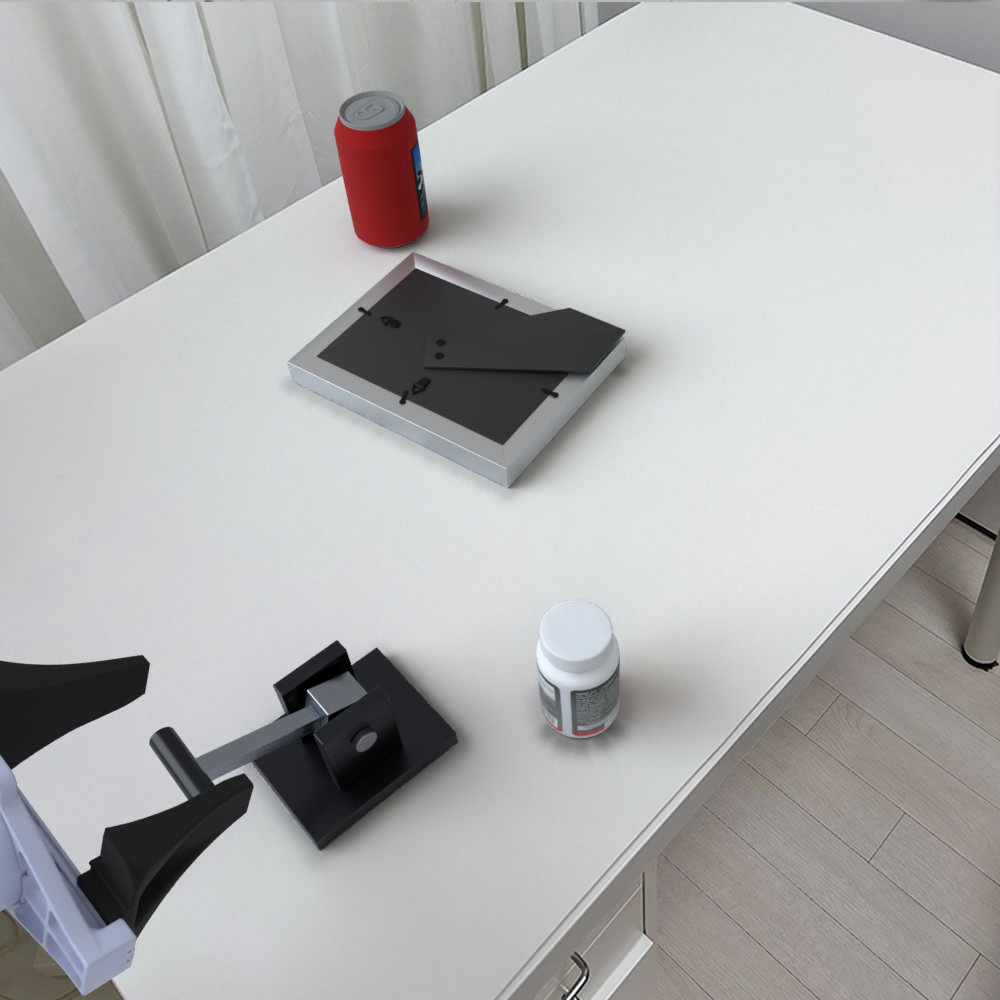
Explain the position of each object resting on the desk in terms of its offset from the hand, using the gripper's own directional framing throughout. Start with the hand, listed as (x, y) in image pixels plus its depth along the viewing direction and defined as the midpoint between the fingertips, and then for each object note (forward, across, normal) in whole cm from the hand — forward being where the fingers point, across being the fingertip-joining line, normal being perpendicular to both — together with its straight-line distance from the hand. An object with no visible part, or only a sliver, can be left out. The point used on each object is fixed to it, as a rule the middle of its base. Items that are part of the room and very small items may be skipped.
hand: (192, 731), depth 48 cm
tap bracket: (+14, +2, +13) cm, 19 cm away
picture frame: (+39, +21, +4) cm, 44 cm away
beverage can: (+47, +39, +2) cm, 61 cm away
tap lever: (+8, +3, +10) cm, 13 cm away
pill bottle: (+24, -6, +7) cm, 26 cm away
